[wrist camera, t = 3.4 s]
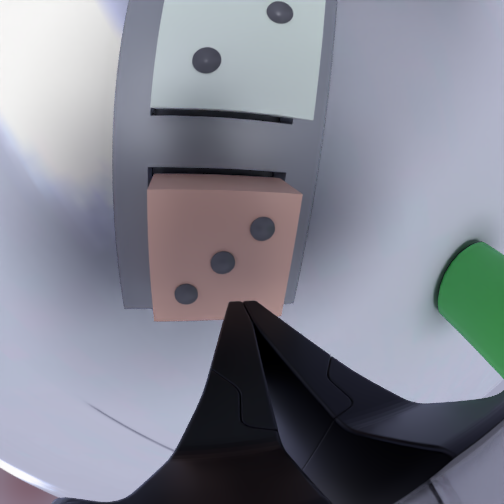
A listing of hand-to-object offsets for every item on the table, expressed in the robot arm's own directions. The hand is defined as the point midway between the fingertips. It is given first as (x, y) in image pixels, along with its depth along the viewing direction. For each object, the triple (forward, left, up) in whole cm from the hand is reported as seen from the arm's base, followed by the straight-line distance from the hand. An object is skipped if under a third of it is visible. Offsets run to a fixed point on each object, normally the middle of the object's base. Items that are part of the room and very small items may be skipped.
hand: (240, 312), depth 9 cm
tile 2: (0, -9, -7) cm, 11 cm away
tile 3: (0, 0, -7) cm, 7 cm away
